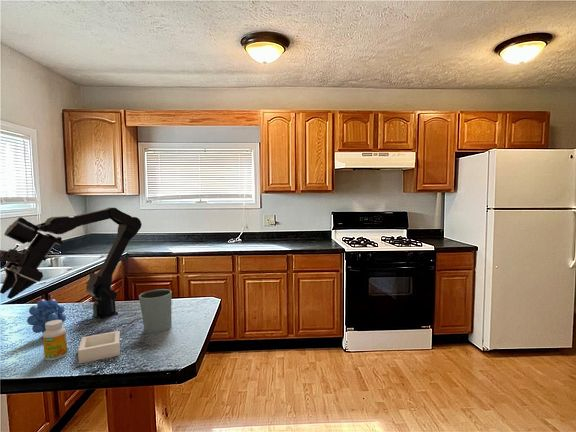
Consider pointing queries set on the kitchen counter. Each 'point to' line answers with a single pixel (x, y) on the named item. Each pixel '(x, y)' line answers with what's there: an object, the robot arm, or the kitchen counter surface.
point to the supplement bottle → (54, 340)
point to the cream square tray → (99, 346)
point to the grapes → (45, 314)
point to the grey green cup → (156, 310)
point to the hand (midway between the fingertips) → (5, 295)
